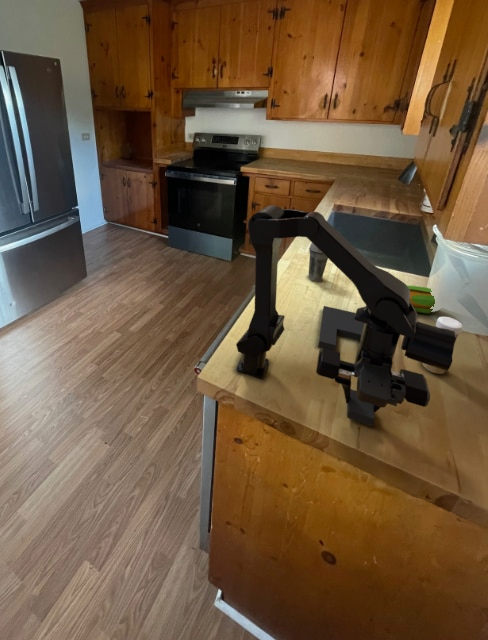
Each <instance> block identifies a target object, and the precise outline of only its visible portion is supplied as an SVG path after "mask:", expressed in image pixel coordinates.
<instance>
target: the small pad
mask: <svg viewBox="0 0 488 640" xmlns="http://www.w3.org/2000/svg"><path fill="white" fill-rule="evenodd" d="M356 392H357V390H355V389H352V388H351V389H350V400H349V403H348V404H347V403H346V418H347V419H349V420H353V421H356V422H359V423H362V424H364V425H368V426H370V427H373V425H374V422H375V420H376V419H375V413H374V408H373V404H370V403H367V402H362V401H360V400H359V399H358V398H357V396H356Z"/></svg>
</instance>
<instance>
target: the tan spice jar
mask: <svg viewBox="0 0 488 640" xmlns="http://www.w3.org/2000/svg"><path fill="white" fill-rule="evenodd" d="M435 327H438V328H444V329H449V330H452V331H455V333H456V340H455V343H454V346H455V345H456V342H457V339H458V337H459V335H460V334H461V333H462V331H463V324H462V323H461V322H460V321H458V320H457V319H455V318H452V317H449V316H439V317H438V318H437V320H436V323H435ZM422 365H423V367H424V368H425V369H426V370H427V371H429V372H430V373H434V374H436V375H443V374H445V372H446V371H445V370H442V369H439V368H436V367H433V366H430V365H427V364H424V363H422Z"/></svg>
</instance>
